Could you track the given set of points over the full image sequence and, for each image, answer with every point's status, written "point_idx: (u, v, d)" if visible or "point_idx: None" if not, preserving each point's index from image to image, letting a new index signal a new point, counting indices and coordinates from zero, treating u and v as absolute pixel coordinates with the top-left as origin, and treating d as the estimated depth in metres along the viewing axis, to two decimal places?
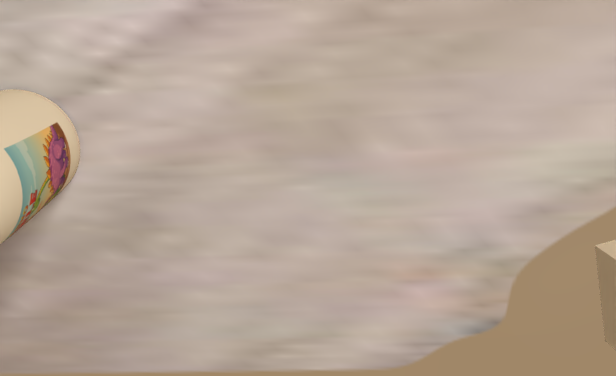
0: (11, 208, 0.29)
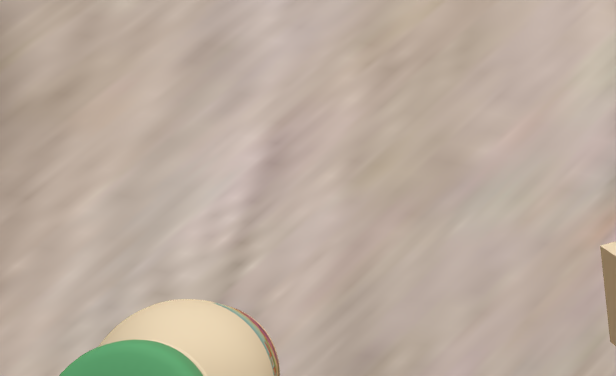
0: (260, 347, 0.23)
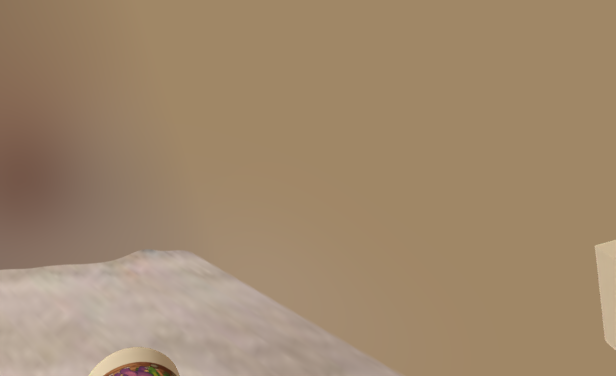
0: None
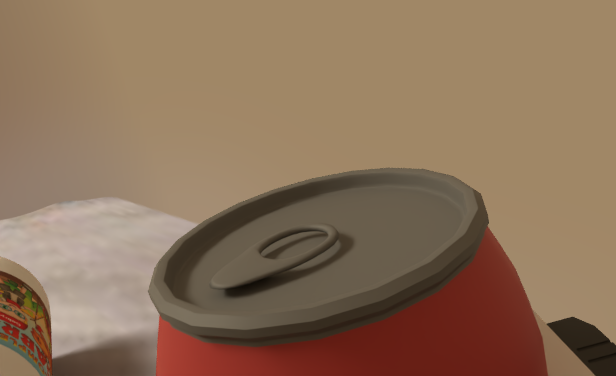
0: None
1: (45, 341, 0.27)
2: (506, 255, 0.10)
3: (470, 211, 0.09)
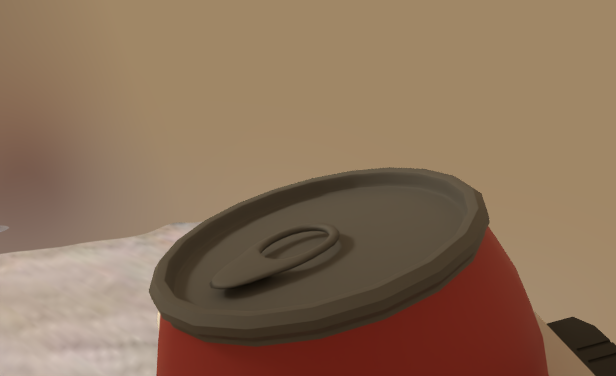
0: None
1: None
2: (506, 255, 0.10)
3: (470, 211, 0.09)
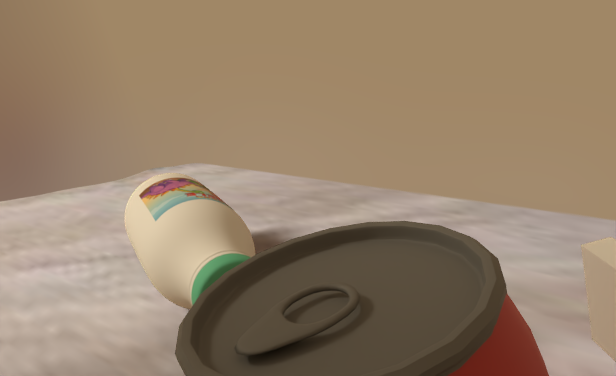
0: (196, 205, 0.39)
1: None
2: (522, 317, 0.10)
3: (489, 281, 0.09)
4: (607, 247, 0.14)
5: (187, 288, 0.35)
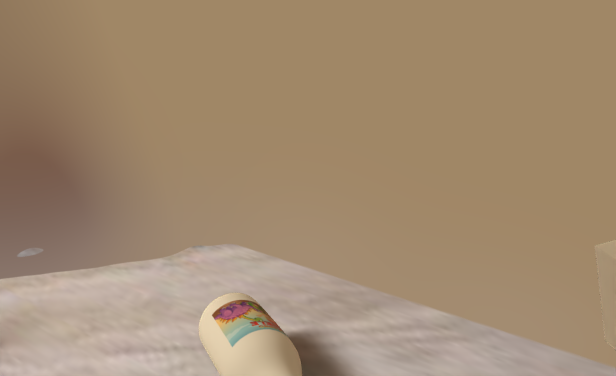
0: (260, 336, 0.56)
1: None
2: None
3: None
4: None
5: None
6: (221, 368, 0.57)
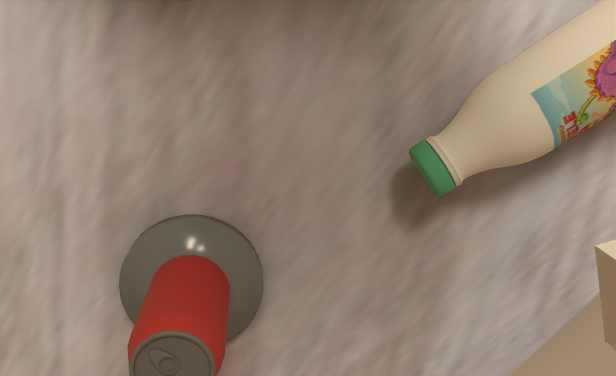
0: (535, 135, 0.42)
1: None
2: None
3: None
4: None
5: (446, 131, 0.45)
6: (517, 66, 0.43)
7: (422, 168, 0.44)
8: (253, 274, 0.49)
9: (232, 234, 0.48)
